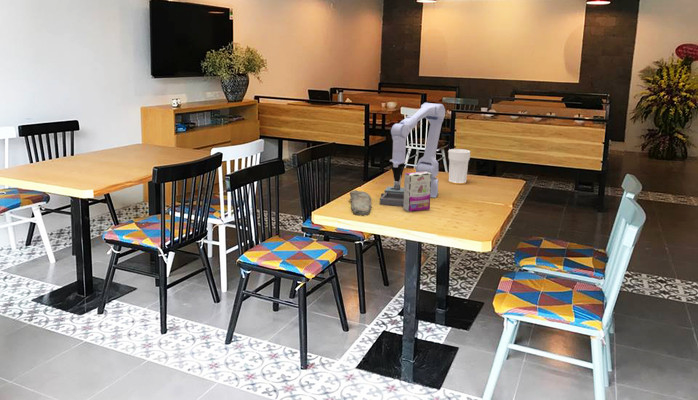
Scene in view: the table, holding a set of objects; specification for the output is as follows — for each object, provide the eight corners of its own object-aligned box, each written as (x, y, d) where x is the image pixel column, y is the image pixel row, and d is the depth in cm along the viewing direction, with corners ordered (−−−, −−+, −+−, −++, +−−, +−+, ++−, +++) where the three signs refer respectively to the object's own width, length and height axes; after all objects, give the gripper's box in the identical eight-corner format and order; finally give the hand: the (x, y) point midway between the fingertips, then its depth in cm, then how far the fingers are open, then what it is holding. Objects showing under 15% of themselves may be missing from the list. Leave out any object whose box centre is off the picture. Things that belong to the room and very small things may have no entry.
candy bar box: (423, 207, 266) (425, 171, 262) (430, 209, 261) (432, 173, 257) (402, 209, 260) (404, 172, 257) (408, 212, 256) (410, 174, 252)
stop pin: (401, 189, 272) (401, 170, 270) (399, 190, 269) (400, 171, 267) (394, 188, 273) (395, 169, 271) (392, 190, 270) (393, 170, 268)
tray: (413, 200, 277) (413, 194, 276) (408, 207, 265) (408, 201, 264) (385, 198, 280) (385, 192, 279) (379, 204, 268) (379, 198, 267)
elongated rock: (349, 219, 249) (372, 221, 249) (350, 207, 247) (373, 209, 248) (348, 195, 282) (369, 197, 283) (349, 184, 281) (370, 186, 281)
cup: (471, 182, 321) (473, 150, 317) (463, 185, 311) (465, 153, 307) (451, 179, 327) (453, 148, 322) (443, 183, 317) (445, 150, 313)
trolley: (412, 195, 287) (413, 181, 286) (409, 199, 279) (410, 184, 277) (384, 192, 291) (385, 178, 289) (381, 197, 282) (381, 182, 280)
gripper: (393, 147, 274) (392, 176, 278) (387, 152, 261) (385, 182, 264) (408, 148, 273) (407, 177, 276) (403, 153, 259) (401, 184, 262)
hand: (397, 180), depth 270 cm, fingers closed on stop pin, 3 cm apart
